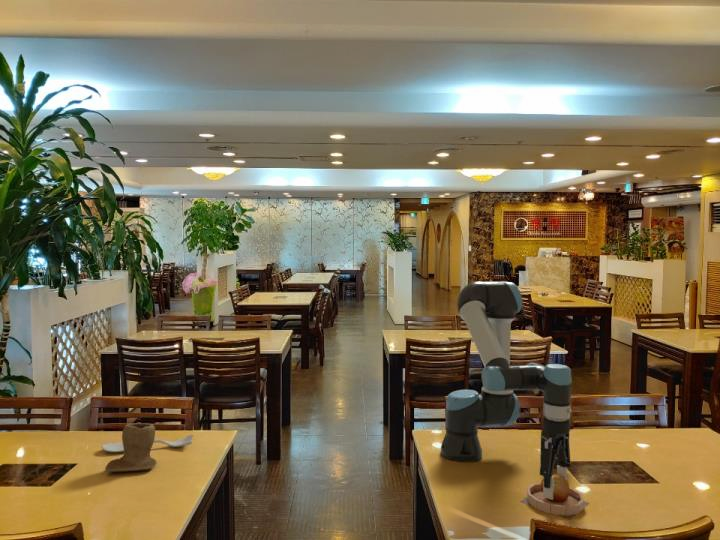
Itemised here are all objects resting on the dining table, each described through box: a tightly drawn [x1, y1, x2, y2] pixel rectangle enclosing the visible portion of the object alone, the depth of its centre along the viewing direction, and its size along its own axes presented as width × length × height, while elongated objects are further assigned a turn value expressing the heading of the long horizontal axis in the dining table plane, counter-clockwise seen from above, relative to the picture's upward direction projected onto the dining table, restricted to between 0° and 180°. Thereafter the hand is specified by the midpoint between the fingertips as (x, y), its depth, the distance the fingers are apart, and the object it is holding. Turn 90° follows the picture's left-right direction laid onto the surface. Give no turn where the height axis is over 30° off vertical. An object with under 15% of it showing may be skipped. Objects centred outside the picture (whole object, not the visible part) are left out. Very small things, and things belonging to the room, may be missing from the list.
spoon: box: [101, 434, 194, 453], centre depth 196 cm, size 9×32×4 cm, turn 104°
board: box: [520, 496, 590, 520], centre depth 155 cm, size 15×14×1 cm
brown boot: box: [104, 422, 157, 473], centre depth 178 cm, size 15×12×15 cm
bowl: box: [526, 482, 585, 516], centre depth 155 cm, size 16×16×2 cm
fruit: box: [540, 474, 571, 502], centre depth 155 cm, size 8×8×8 cm
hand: (554, 492), depth 155 cm, fingers open, 9 cm apart
